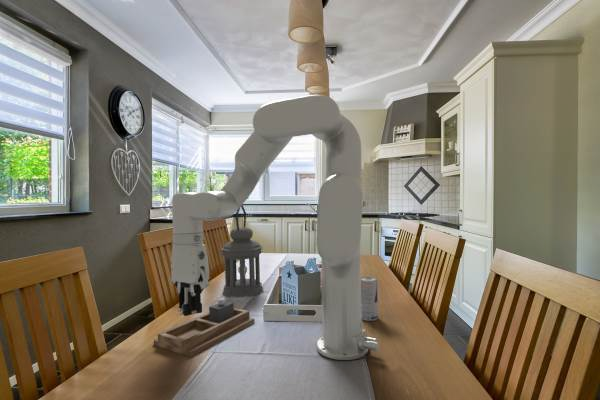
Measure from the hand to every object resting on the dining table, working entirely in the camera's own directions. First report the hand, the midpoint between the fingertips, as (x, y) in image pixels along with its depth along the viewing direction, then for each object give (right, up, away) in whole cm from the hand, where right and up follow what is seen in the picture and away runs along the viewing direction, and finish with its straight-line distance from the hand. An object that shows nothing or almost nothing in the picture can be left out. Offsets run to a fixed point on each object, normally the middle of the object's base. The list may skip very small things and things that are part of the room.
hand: (190, 307), depth 89 cm
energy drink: (+50, -8, +13) cm, 52 cm away
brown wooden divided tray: (+3, -9, +5) cm, 11 cm away
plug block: (+6, -7, +10) cm, 14 cm away
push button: (0, -2, 0) cm, 2 cm away
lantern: (+6, -8, +45) cm, 46 cm away
